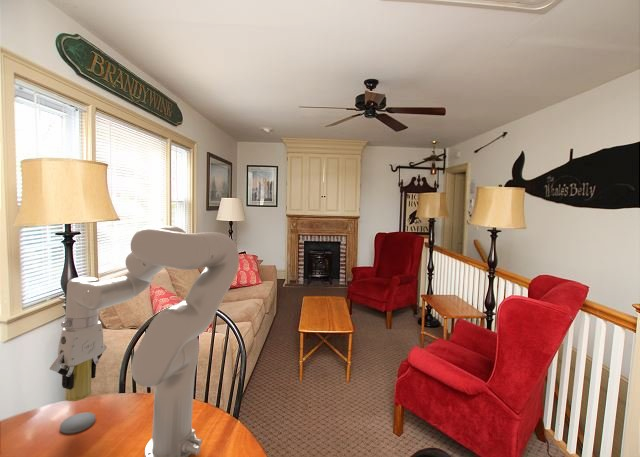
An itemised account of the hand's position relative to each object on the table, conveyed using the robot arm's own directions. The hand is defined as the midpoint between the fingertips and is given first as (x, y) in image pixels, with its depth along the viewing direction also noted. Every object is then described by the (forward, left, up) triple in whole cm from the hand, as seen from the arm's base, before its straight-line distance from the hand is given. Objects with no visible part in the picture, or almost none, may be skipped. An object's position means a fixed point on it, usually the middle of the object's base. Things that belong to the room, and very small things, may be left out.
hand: (79, 381), depth 88 cm
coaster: (0, 0, -13) cm, 13 cm away
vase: (0, 0, -4) cm, 4 cm away
